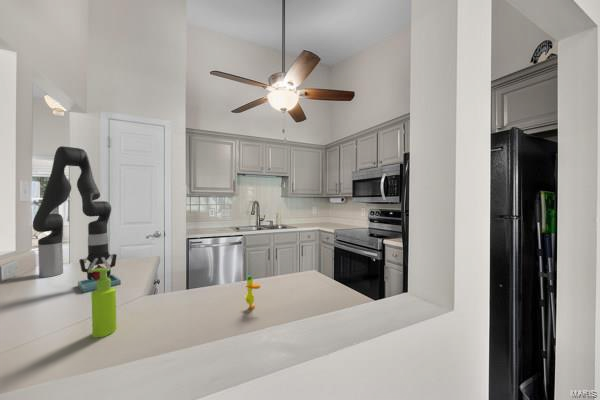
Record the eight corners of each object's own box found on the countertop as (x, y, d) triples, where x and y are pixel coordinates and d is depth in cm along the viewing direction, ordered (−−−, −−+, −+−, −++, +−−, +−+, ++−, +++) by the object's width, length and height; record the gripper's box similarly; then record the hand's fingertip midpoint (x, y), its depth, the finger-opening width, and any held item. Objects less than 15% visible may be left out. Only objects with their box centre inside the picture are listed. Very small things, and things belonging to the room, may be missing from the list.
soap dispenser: (98, 328, 79) (96, 266, 79) (120, 326, 80) (119, 265, 79) (83, 338, 73) (81, 272, 73) (108, 337, 74) (106, 271, 73)
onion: (110, 279, 120) (109, 263, 120) (99, 283, 114) (99, 266, 114) (99, 279, 121) (98, 262, 120) (88, 283, 115) (87, 266, 115)
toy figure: (262, 306, 93) (261, 275, 93) (258, 310, 90) (258, 278, 89) (245, 304, 95) (245, 274, 94) (241, 309, 91) (241, 277, 91)
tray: (77, 286, 117) (77, 281, 117) (113, 278, 127) (112, 274, 127) (83, 293, 108) (83, 288, 108) (120, 284, 118) (120, 279, 118)
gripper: (114, 240, 125) (115, 272, 125) (76, 244, 114) (77, 280, 114) (118, 241, 120) (119, 275, 121) (79, 246, 109) (80, 284, 110)
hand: (99, 277), depth 117 cm, fingers closed on onion, 6 cm apart
